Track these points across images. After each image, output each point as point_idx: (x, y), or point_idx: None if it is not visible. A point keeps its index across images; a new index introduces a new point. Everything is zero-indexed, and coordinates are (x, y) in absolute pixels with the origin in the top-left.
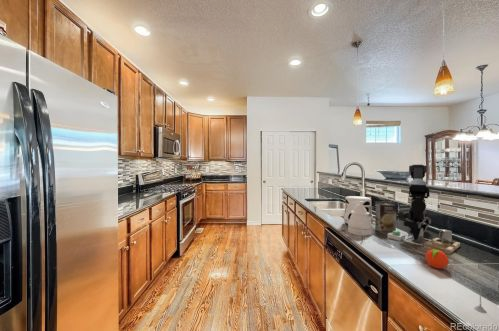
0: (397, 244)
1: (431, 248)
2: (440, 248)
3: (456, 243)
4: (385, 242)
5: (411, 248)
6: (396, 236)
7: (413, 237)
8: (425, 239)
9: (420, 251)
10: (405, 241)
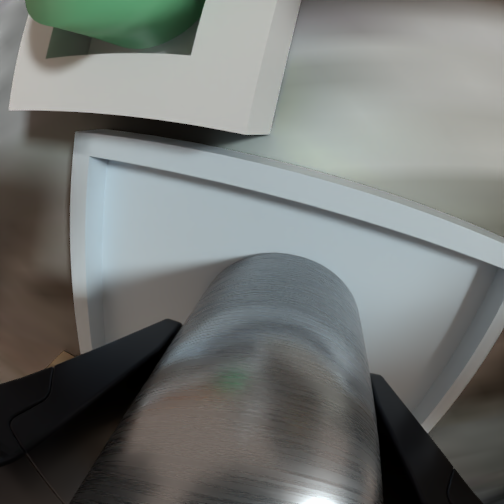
0: (13, 114)
1: None
2: None
3: None
4: (11, 10)
5: (9, 255)
6: (29, 44)
7: (184, 322)
8: (423, 412)
9: (12, 318)
10: (78, 179)
